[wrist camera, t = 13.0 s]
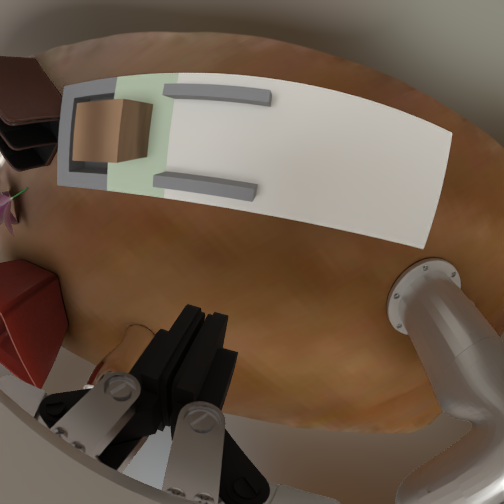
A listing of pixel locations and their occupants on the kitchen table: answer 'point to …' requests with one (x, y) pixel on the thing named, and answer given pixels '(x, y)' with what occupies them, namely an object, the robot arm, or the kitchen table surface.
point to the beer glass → (122, 354)
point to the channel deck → (271, 152)
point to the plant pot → (30, 320)
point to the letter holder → (27, 114)
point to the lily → (7, 210)
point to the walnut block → (111, 130)
